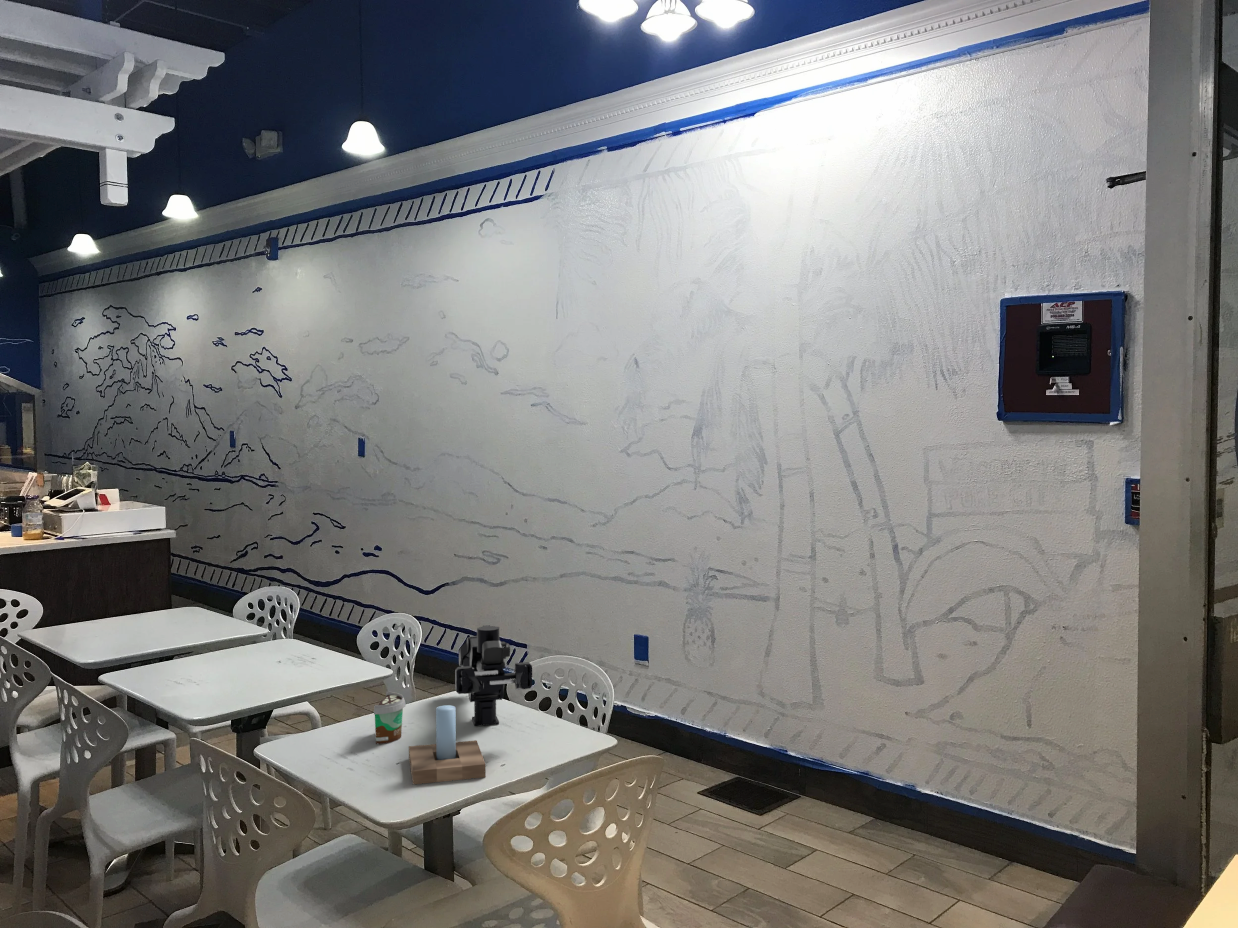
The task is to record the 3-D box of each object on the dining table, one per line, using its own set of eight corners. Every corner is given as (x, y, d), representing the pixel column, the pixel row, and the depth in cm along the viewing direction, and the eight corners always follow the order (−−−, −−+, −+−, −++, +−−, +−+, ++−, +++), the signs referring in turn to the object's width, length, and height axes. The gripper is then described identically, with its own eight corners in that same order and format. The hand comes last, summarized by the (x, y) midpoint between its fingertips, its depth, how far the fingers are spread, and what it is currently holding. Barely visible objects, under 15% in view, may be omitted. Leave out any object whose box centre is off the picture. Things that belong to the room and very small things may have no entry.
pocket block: (408, 758, 228) (408, 746, 228) (476, 752, 232) (476, 740, 232) (413, 784, 212) (412, 770, 212) (485, 776, 217) (485, 763, 217)
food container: (399, 746, 236) (398, 706, 236) (374, 745, 236) (373, 705, 236) (411, 729, 249) (410, 691, 248) (387, 729, 249) (386, 691, 248)
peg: (435, 765, 224) (435, 705, 223) (454, 763, 225) (454, 704, 224) (437, 772, 220) (436, 711, 219) (456, 770, 221) (456, 710, 220)
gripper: (452, 640, 241) (459, 656, 226) (526, 636, 246) (537, 651, 231) (452, 684, 242) (459, 703, 227) (526, 679, 247) (537, 696, 232)
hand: (499, 687), depth 229 cm, fingers open, 9 cm apart
